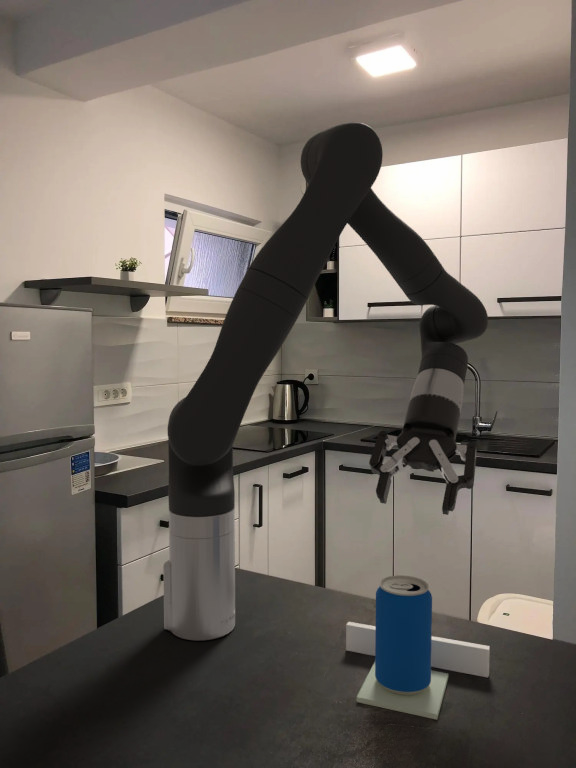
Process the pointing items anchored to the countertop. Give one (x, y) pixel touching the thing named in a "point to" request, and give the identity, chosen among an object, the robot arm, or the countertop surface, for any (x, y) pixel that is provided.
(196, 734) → the countertop surface
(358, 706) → the countertop surface
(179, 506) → the robot arm
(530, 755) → the countertop surface
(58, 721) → the countertop surface
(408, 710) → the mat
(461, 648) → the low wall
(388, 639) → the beverage can
